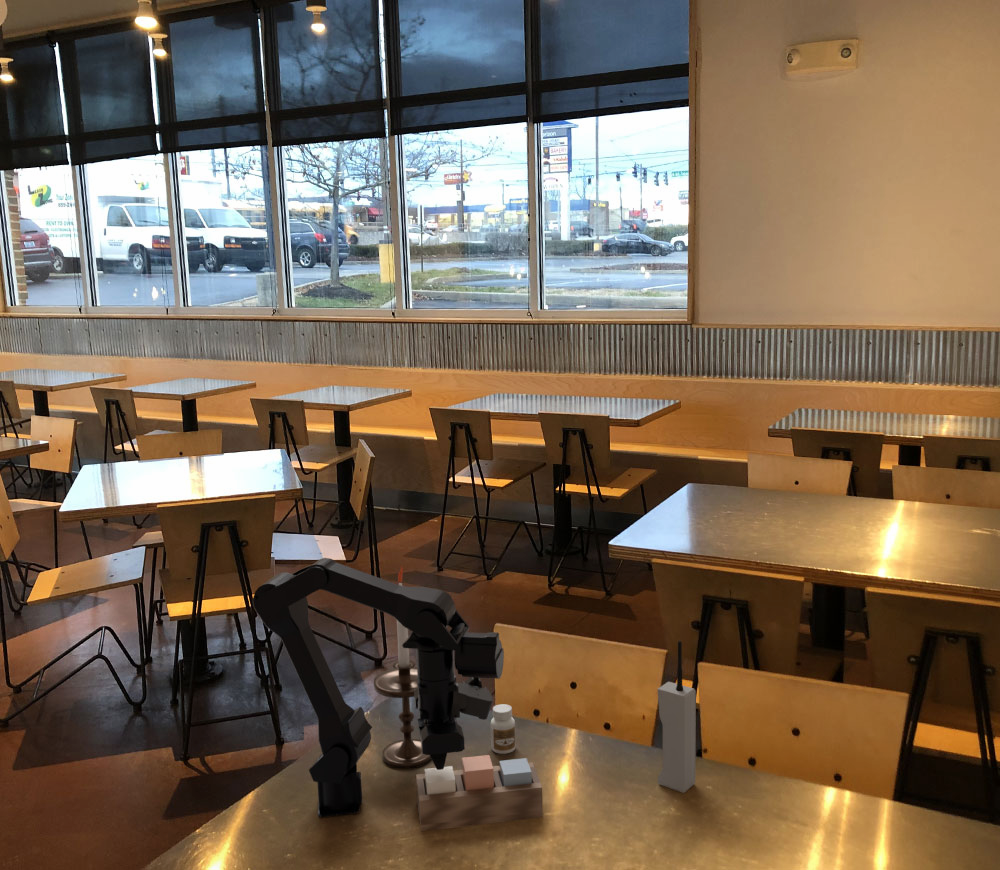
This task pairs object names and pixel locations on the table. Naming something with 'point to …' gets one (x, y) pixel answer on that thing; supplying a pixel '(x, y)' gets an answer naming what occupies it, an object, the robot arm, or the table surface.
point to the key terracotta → (477, 772)
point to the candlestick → (402, 686)
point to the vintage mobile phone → (678, 732)
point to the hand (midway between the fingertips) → (440, 768)
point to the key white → (439, 780)
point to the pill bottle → (503, 729)
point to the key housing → (479, 803)
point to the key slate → (515, 772)
